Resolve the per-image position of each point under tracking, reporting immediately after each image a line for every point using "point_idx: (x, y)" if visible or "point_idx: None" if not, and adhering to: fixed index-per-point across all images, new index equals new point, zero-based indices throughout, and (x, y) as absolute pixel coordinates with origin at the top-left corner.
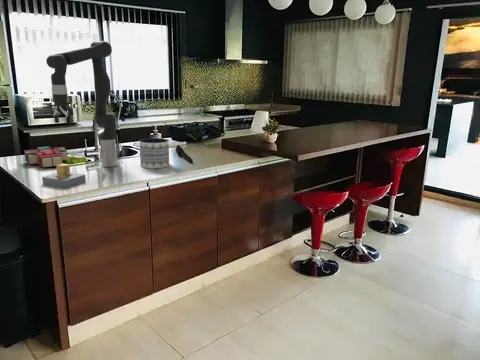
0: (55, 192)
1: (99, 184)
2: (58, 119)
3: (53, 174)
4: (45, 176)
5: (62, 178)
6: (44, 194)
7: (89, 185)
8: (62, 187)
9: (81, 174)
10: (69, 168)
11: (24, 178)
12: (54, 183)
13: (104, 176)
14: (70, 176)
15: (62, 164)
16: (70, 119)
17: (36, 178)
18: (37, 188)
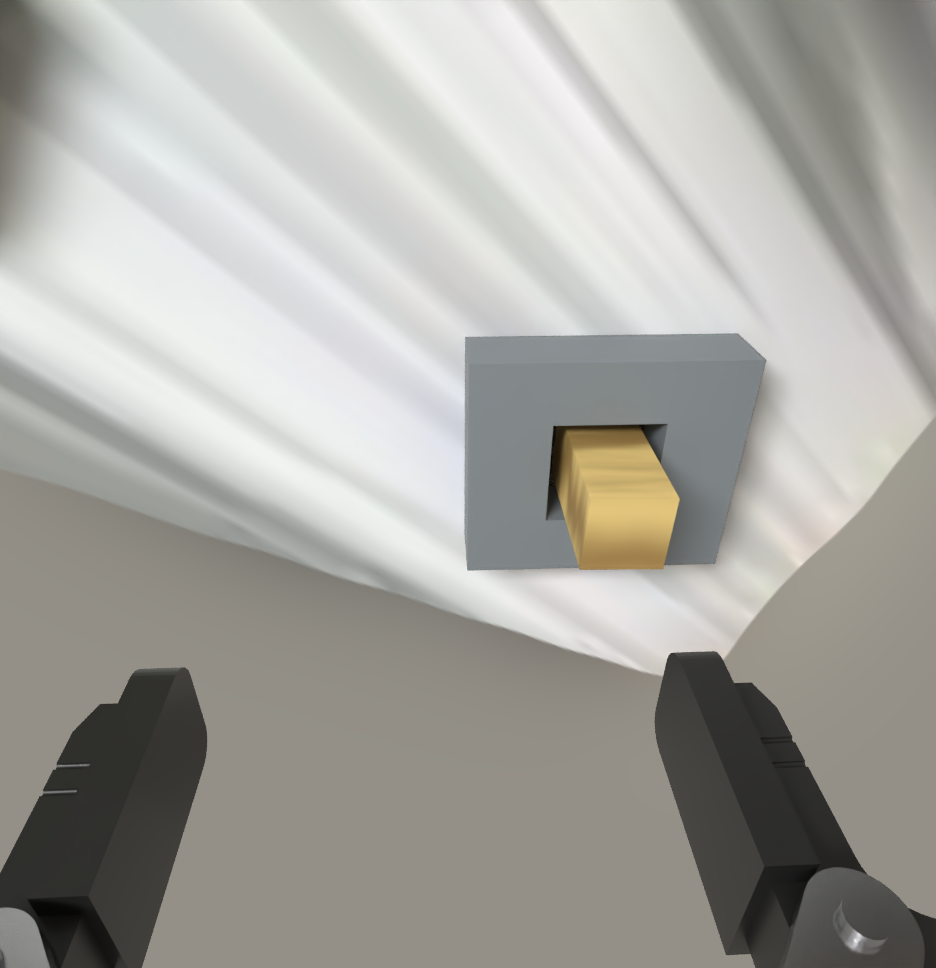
0: (690, 606)
1: (902, 344)
2: (150, 758)
3: (486, 485)
4: (479, 551)
5: None
6: (653, 651)
7: (830, 402)
8: None
9: (728, 374)
10: (667, 478)
11: (179, 492)
12: None
13: (822, 74)
14: (675, 466)
15: (612, 525)
16: (813, 786)
17: (262, 450)
18: (514, 602)
